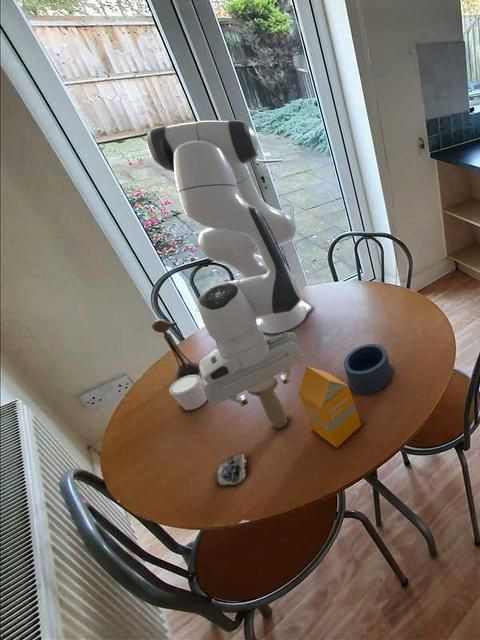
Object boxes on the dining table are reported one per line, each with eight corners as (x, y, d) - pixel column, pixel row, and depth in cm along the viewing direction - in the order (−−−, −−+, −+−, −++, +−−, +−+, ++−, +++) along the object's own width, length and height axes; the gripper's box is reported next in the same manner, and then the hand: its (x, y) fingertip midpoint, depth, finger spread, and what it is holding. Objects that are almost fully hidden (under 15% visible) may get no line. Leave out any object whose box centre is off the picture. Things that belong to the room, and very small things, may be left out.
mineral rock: (243, 450, 97) (240, 445, 96) (257, 470, 93) (254, 465, 92) (212, 471, 93) (208, 466, 92) (224, 493, 88) (221, 488, 87)
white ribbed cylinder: (216, 395, 112) (206, 377, 108) (192, 415, 106) (180, 397, 103) (198, 388, 114) (188, 371, 110) (174, 408, 108) (162, 390, 105)
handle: (289, 431, 102) (270, 390, 94) (264, 432, 101) (242, 392, 94) (297, 414, 106) (279, 375, 98) (272, 416, 105) (253, 376, 98)
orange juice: (336, 448, 97) (314, 392, 87) (314, 431, 101) (290, 376, 91) (362, 424, 103) (344, 369, 93) (340, 409, 107) (320, 355, 97)
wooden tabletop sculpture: (205, 364, 122) (175, 313, 112) (199, 375, 118) (168, 323, 108) (183, 368, 121) (151, 316, 110) (176, 379, 117) (142, 327, 106)
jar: (343, 377, 116) (336, 357, 112) (379, 357, 123) (375, 338, 119) (361, 401, 109) (354, 381, 105) (398, 378, 116) (394, 358, 112)
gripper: (289, 322, 98) (305, 363, 105) (189, 366, 86) (215, 408, 93) (298, 335, 94) (314, 376, 101) (195, 382, 82) (221, 425, 89)
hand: (266, 392), depth 97 cm, fingers open, 8 cm apart
